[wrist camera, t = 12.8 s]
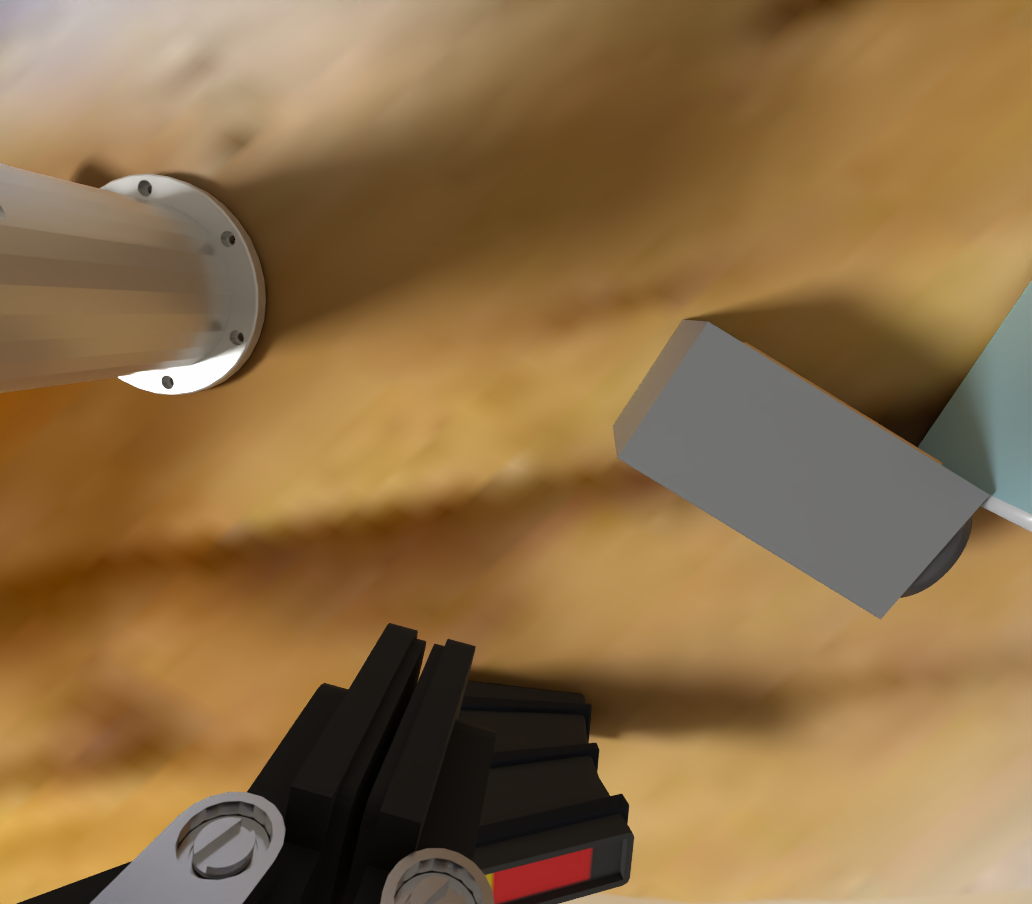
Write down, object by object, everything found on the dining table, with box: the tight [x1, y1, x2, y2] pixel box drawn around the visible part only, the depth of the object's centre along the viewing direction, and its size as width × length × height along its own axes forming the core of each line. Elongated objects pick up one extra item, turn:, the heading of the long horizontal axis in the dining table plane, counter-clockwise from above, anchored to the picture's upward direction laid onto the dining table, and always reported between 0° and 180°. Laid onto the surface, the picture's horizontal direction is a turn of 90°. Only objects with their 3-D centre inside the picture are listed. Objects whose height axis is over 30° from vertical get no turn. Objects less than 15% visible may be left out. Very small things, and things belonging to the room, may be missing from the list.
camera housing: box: [613, 320, 989, 619], centre depth 30 cm, size 15×7×8 cm, turn 59°
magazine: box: [458, 681, 634, 904], centre depth 35 cm, size 4×13×15 cm, turn 88°
